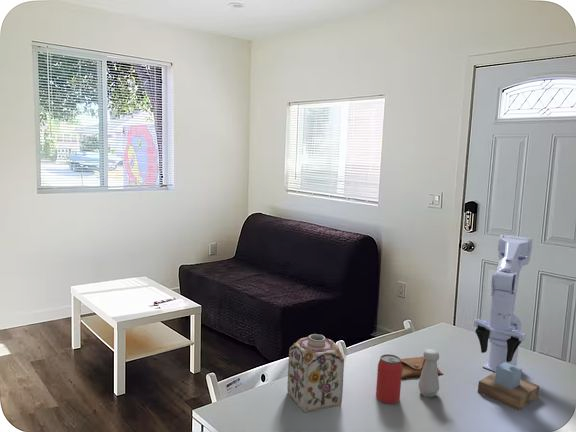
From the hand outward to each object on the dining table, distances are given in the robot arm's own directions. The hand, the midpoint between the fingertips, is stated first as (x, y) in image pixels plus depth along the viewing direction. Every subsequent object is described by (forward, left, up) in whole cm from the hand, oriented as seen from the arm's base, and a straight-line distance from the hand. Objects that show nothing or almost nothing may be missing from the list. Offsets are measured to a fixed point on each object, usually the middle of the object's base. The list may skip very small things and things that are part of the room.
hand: (496, 356), depth 143 cm
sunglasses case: (+11, -20, -11) cm, 26 cm away
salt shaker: (+20, -9, -10) cm, 24 cm away
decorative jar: (+49, -26, -10) cm, 56 cm away
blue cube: (+1, +5, -6) cm, 8 cm away
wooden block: (+1, +5, -10) cm, 11 cm away
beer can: (+32, -14, -10) cm, 36 cm away
